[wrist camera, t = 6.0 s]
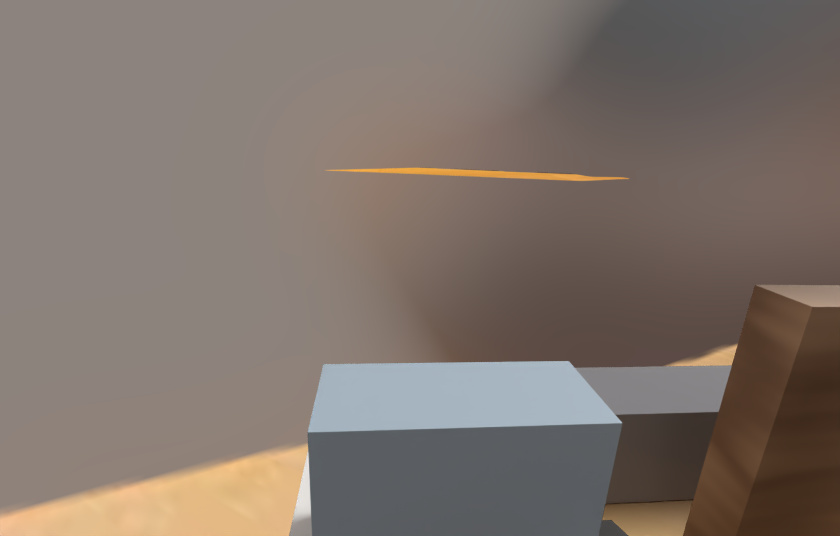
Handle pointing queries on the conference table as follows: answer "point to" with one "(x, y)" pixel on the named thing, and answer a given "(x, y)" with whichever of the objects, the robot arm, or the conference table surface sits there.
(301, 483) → the robot arm
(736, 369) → the walnut domino
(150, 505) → the conference table surface
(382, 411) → the slate domino
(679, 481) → the block
